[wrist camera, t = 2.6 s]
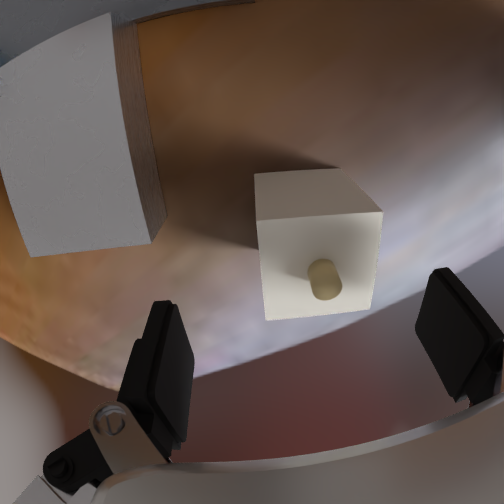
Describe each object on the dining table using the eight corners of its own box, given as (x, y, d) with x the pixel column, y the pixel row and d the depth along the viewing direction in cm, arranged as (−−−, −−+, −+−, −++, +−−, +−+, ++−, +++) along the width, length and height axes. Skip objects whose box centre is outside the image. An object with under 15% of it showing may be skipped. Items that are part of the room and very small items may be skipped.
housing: (339, 168, 17) (395, 224, 10) (338, 243, 19) (377, 326, 12) (254, 173, 17) (256, 235, 10) (261, 249, 19) (266, 339, 13)
